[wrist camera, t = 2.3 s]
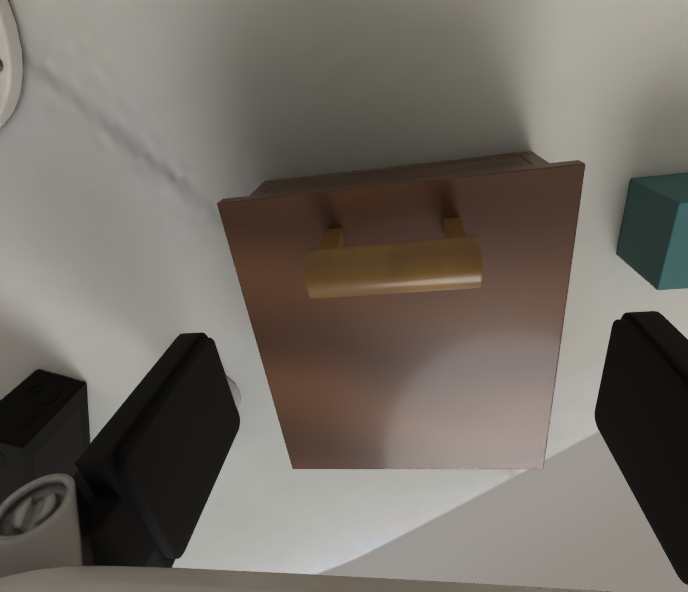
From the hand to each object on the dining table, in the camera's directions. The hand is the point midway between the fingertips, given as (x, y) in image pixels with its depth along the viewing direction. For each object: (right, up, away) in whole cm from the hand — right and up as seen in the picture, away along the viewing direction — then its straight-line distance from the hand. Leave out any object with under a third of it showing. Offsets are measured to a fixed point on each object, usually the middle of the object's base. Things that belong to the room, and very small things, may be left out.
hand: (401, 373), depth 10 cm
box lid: (+2, -1, +12) cm, 12 cm away
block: (+17, +6, +13) cm, 22 cm away
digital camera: (-27, -9, +27) cm, 39 cm away
